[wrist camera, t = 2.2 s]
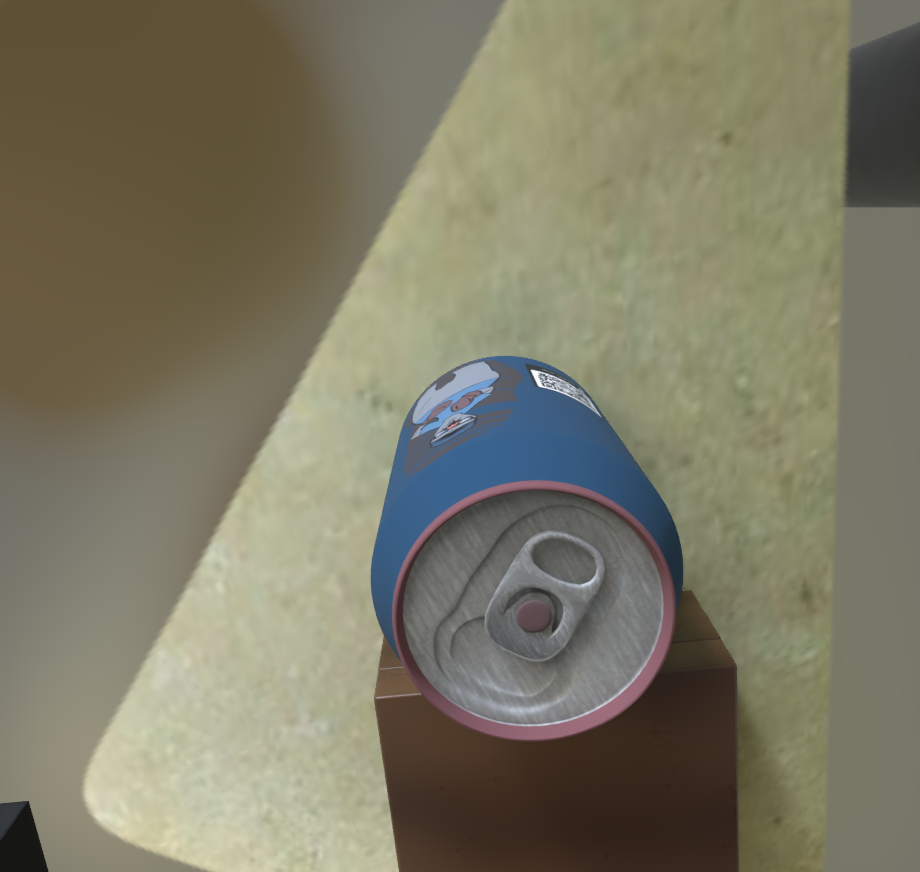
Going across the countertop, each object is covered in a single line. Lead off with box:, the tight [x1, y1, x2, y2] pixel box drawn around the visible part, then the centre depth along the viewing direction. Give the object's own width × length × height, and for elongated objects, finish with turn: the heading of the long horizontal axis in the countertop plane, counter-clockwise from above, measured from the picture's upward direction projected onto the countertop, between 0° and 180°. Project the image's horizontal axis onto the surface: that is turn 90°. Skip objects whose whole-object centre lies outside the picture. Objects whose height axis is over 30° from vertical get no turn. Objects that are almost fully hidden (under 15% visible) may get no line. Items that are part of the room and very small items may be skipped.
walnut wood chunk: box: [374, 591, 739, 872], centre depth 28 cm, size 9×11×5 cm
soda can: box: [371, 356, 683, 742], centre depth 22 cm, size 7×7×12 cm
